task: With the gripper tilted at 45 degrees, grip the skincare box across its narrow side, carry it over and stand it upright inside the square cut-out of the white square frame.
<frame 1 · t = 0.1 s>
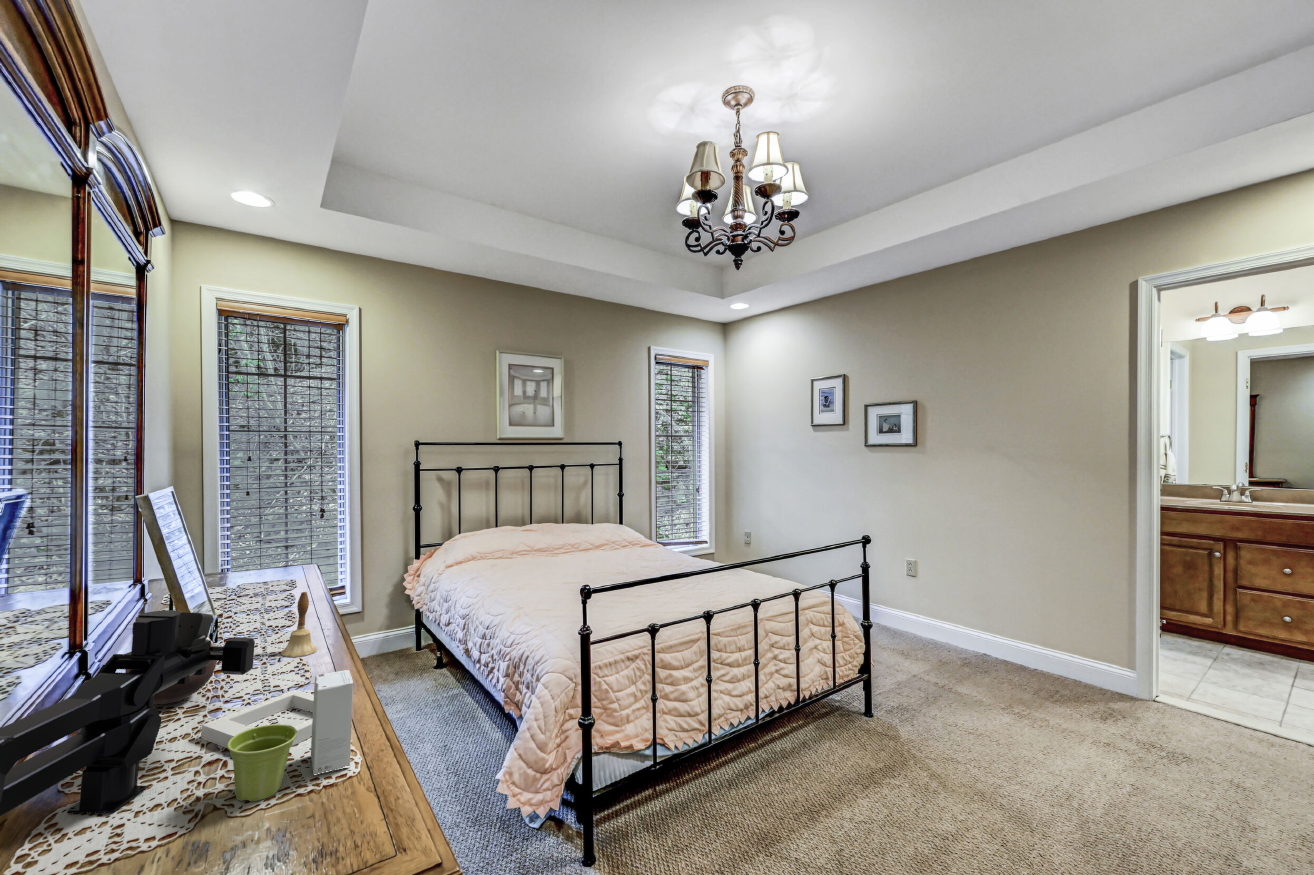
hand: (228, 640, 114), 17 cm above the dresser, tool horizontal, fingers open, 9 cm apart
white square frame: (283, 726, 114), on the dresser
plant pot: (259, 792, 93), on the dresser
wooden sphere: (169, 701, 122), on the dresser
skincare box: (329, 762, 103), on the dresser
hand bell: (299, 652, 154), on the dresser
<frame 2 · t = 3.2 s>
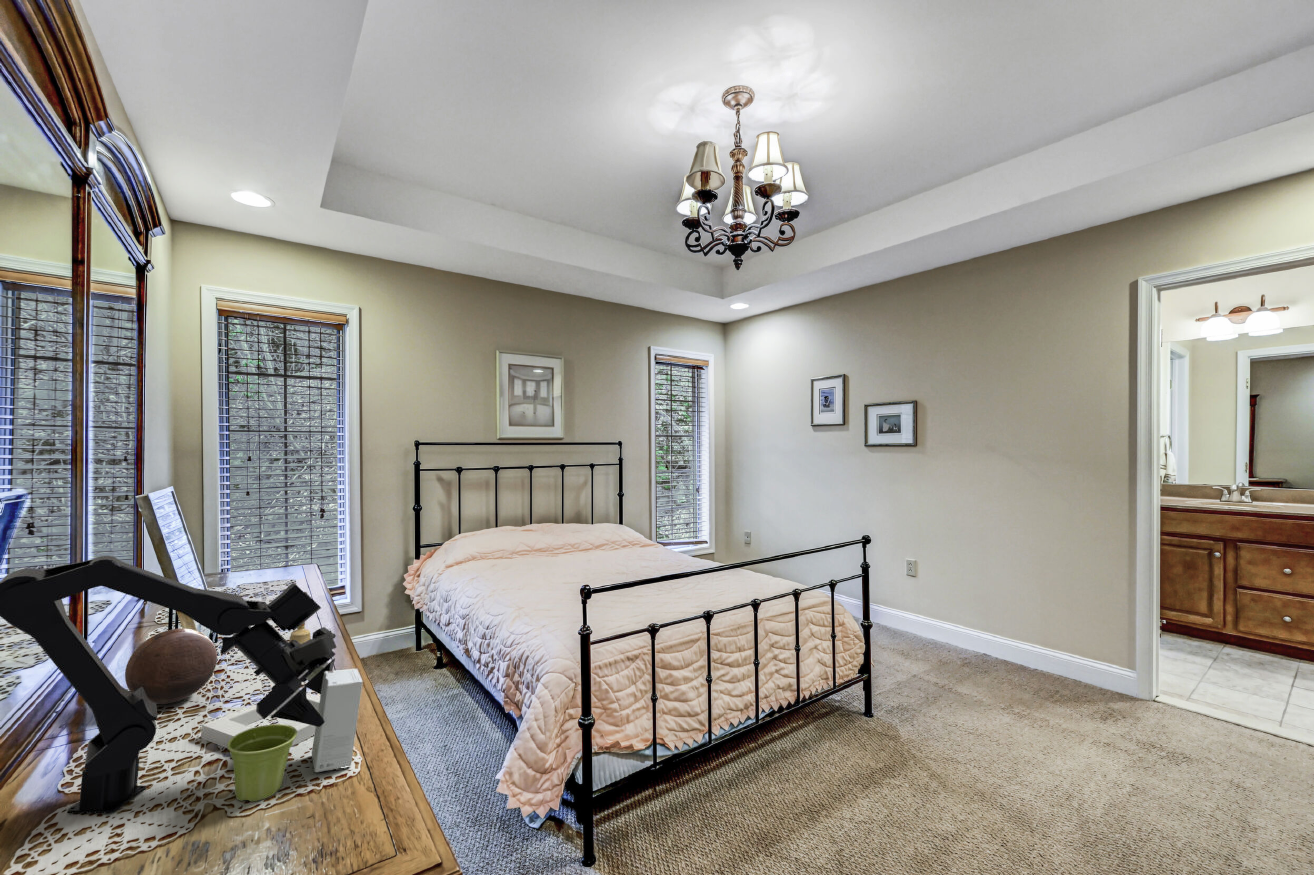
hand: (332, 712, 103), 9 cm above the dresser, tool tilted 45°, fingers open, 9 cm apart
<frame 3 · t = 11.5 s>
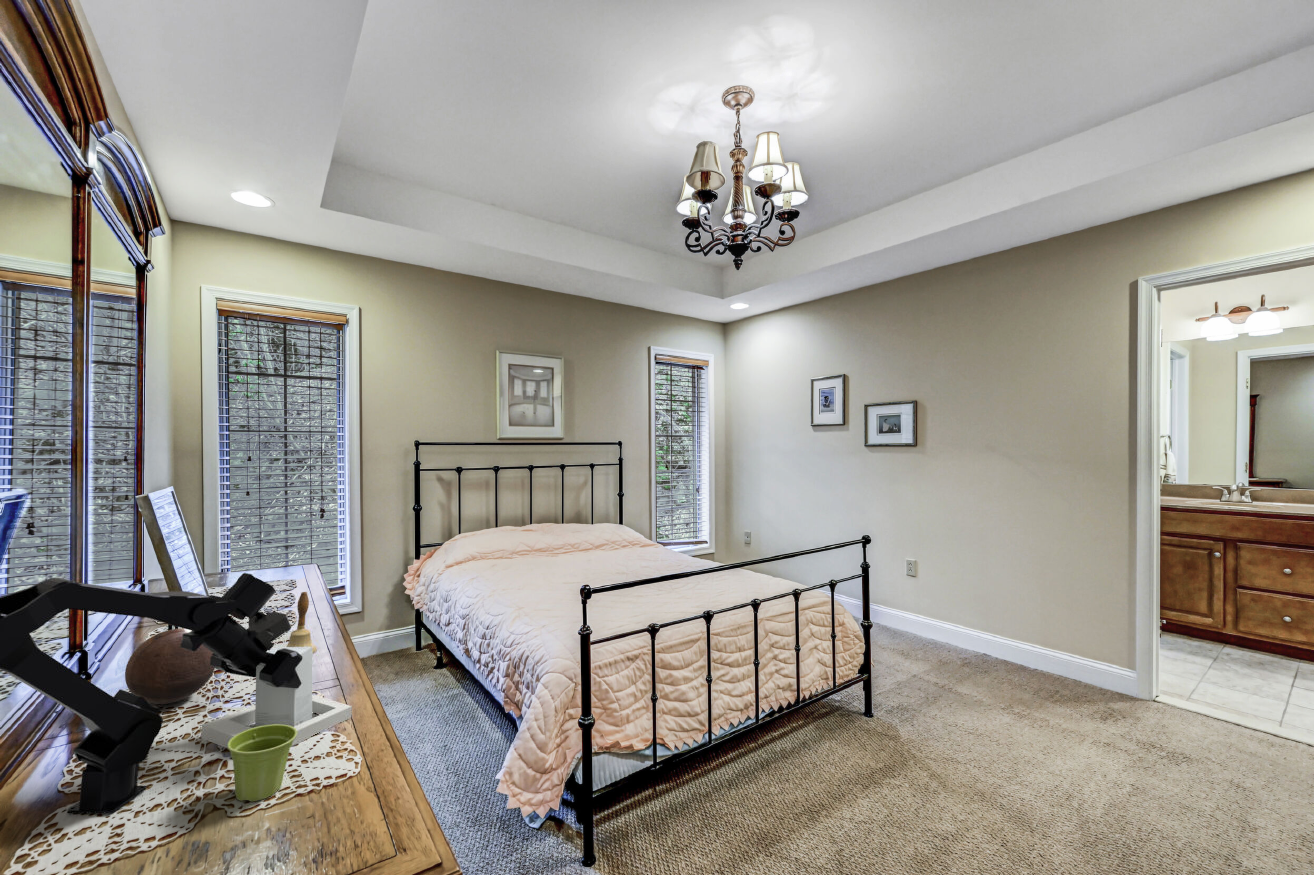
hand: (283, 681, 114), 9 cm above the dresser, tool tilted 45°, fingers open, 9 cm apart
skincare box: (282, 727, 114), resting in white square frame, touching gripper
everything else where it was.
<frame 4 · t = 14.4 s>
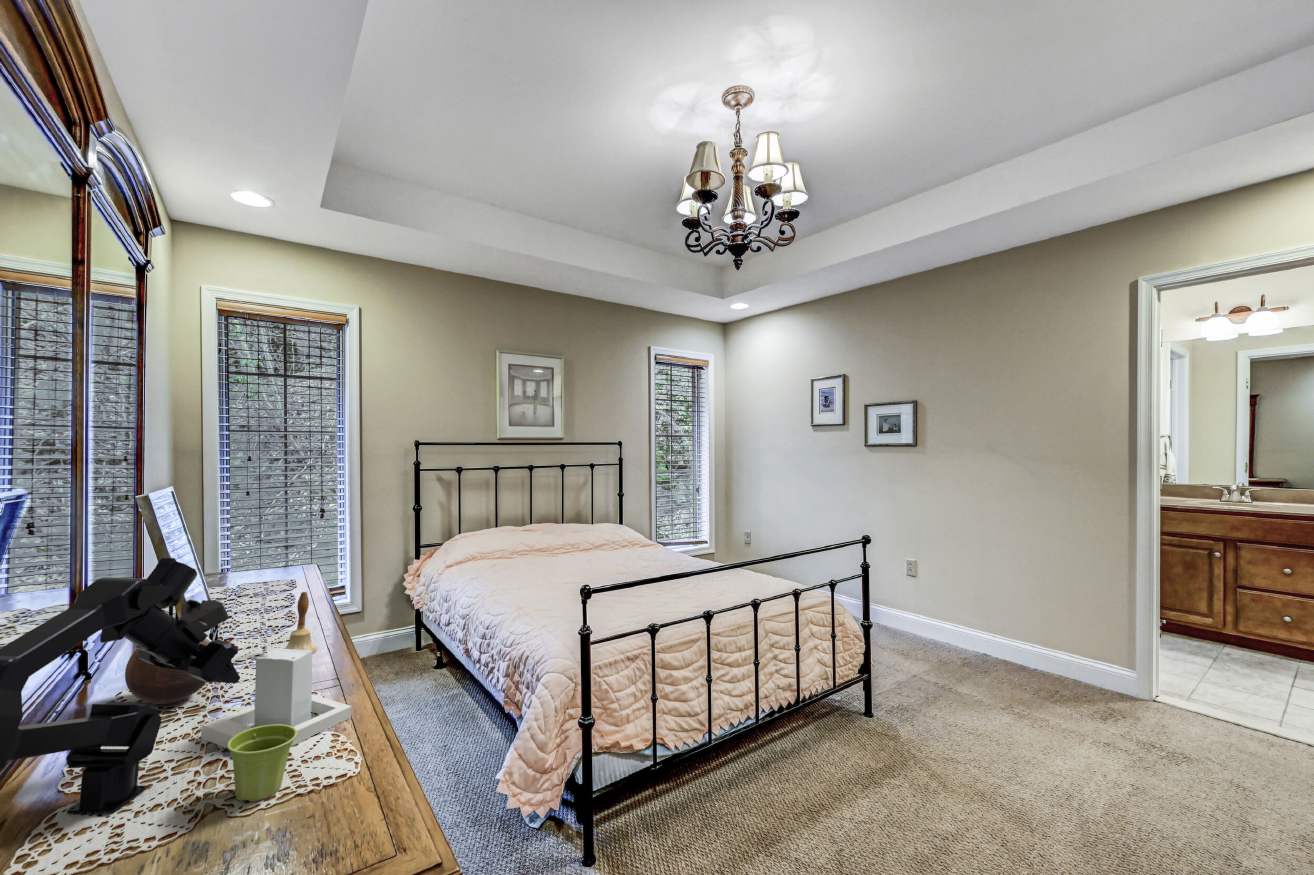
hand: (221, 675, 104), 14 cm above the dresser, tool tilted 45°, fingers open, 9 cm apart
skincare box: (281, 729, 113), resting in white square frame
everything else where it was.
at the end: skincare box inside the target area on the white square frame (0.8 cm from its centre), point 0.0 cm above the white square frame's base; skincare box tilted 0°; the gripper is holding nothing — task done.
